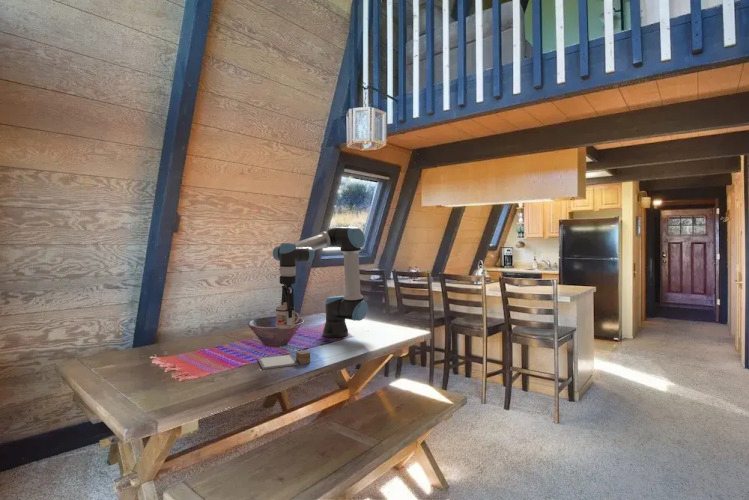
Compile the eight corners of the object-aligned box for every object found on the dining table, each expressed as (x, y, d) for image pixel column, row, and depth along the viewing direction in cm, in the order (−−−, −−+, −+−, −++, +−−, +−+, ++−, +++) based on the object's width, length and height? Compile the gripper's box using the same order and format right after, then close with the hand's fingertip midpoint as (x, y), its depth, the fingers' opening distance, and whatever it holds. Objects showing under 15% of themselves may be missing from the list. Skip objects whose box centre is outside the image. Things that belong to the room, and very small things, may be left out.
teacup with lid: (271, 328, 194) (271, 303, 194) (282, 324, 203) (282, 300, 203) (294, 330, 190) (294, 305, 190) (304, 326, 199) (304, 302, 199)
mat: (257, 359, 200) (257, 357, 200) (290, 355, 206) (290, 354, 206) (262, 369, 185) (262, 367, 185) (298, 364, 192) (298, 363, 192)
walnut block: (296, 362, 196) (296, 351, 196) (305, 360, 199) (305, 350, 199) (300, 364, 192) (300, 354, 192) (310, 363, 195) (310, 352, 195)
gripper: (275, 273, 205) (274, 318, 206) (284, 277, 185) (284, 327, 186) (290, 273, 208) (289, 317, 209) (301, 277, 188) (300, 326, 189)
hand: (287, 322), depth 197 cm, fingers closed on teacup with lid, 9 cm apart
